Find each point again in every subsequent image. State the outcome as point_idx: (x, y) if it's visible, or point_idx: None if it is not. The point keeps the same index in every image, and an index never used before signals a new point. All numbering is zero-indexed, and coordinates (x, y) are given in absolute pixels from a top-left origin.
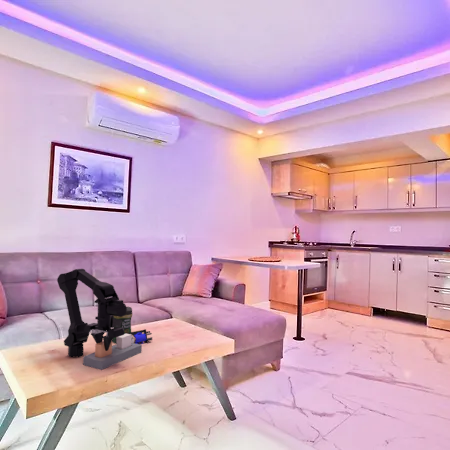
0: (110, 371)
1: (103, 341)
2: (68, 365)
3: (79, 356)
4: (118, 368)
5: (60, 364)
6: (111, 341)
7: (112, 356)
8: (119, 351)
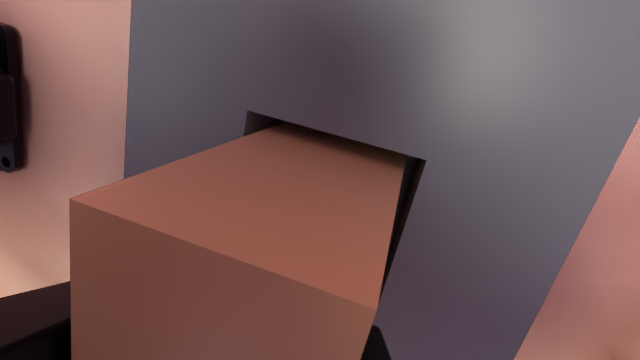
0: (523, 348)
1: (88, 338)
2: (67, 266)
3: (2, 130)
4: (587, 262)
5: (7, 257)
6: (347, 303)
7: (510, 322)
8: (524, 31)
